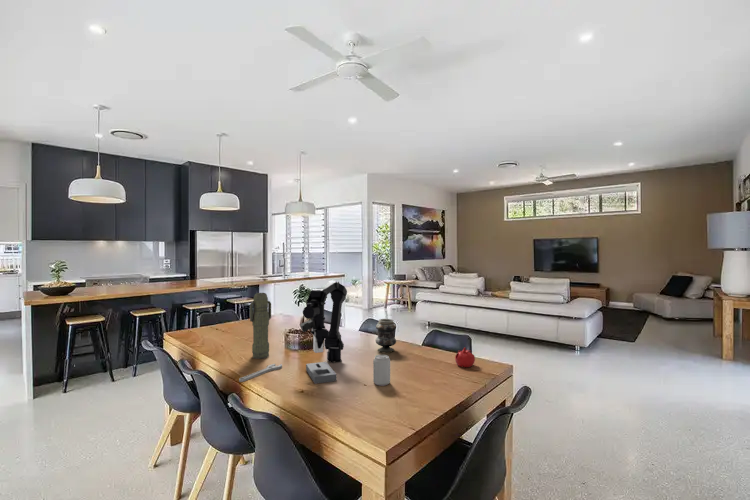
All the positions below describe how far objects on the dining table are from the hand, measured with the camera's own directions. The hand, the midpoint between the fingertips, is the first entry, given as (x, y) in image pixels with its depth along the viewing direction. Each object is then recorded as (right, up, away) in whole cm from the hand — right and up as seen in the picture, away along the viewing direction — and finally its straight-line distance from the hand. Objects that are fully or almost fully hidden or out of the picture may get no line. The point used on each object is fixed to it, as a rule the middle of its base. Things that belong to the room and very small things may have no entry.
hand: (318, 347), depth 181 cm
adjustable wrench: (-28, -13, -1) cm, 30 cm away
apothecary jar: (+34, -12, +38) cm, 52 cm away
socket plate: (+2, -12, -5) cm, 13 cm away
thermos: (-36, -12, +26) cm, 46 cm away
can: (+30, -12, -15) cm, 36 cm away
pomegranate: (+73, -12, +10) cm, 75 cm away
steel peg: (0, -2, 0) cm, 2 cm away
